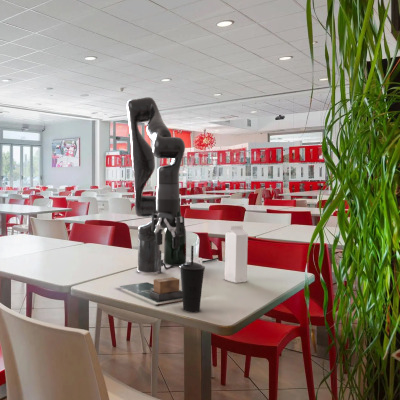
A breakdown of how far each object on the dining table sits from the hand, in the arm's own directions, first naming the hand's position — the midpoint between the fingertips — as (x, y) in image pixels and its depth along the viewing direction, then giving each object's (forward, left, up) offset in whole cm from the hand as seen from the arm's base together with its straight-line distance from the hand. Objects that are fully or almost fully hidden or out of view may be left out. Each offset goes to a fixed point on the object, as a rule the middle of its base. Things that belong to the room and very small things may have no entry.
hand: (167, 246), depth 140 cm
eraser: (0, 0, -17) cm, 17 cm away
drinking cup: (0, +12, -18) cm, 22 cm away
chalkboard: (0, -8, -18) cm, 20 cm away
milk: (-42, -9, -18) cm, 47 cm away
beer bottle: (-43, -47, -18) cm, 66 cm away
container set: (-35, -26, -18) cm, 47 cm away
